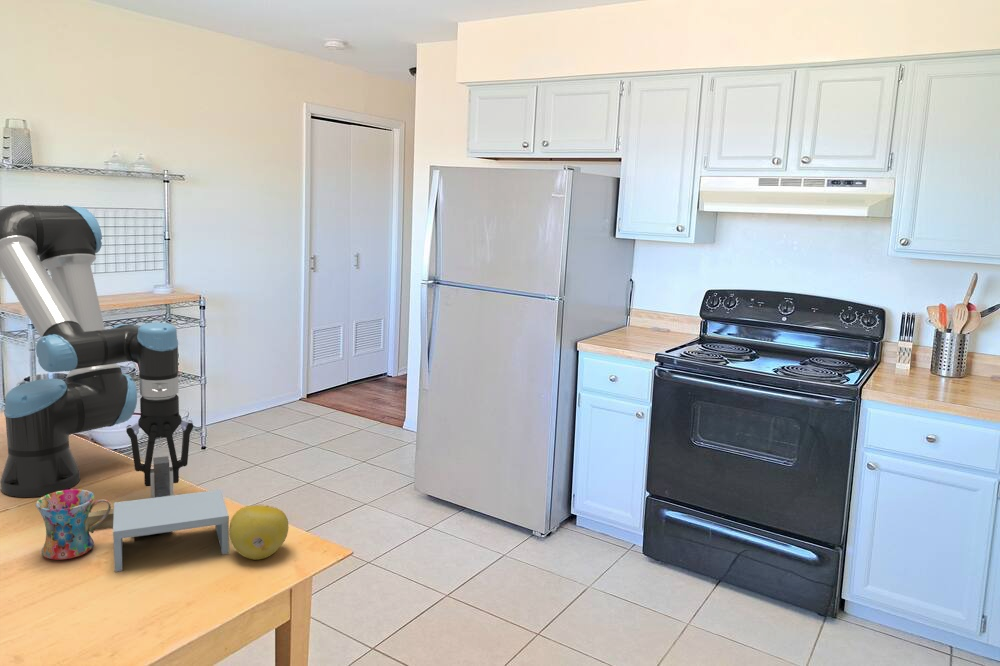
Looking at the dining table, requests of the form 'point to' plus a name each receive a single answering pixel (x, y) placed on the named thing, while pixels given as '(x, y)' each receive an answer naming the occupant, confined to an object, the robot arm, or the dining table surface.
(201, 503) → the grey u-shaped bridge
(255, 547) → the fruit
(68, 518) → the mug
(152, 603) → the dining table surface
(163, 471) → the grey piece
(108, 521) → the l-shaped tan bracket
